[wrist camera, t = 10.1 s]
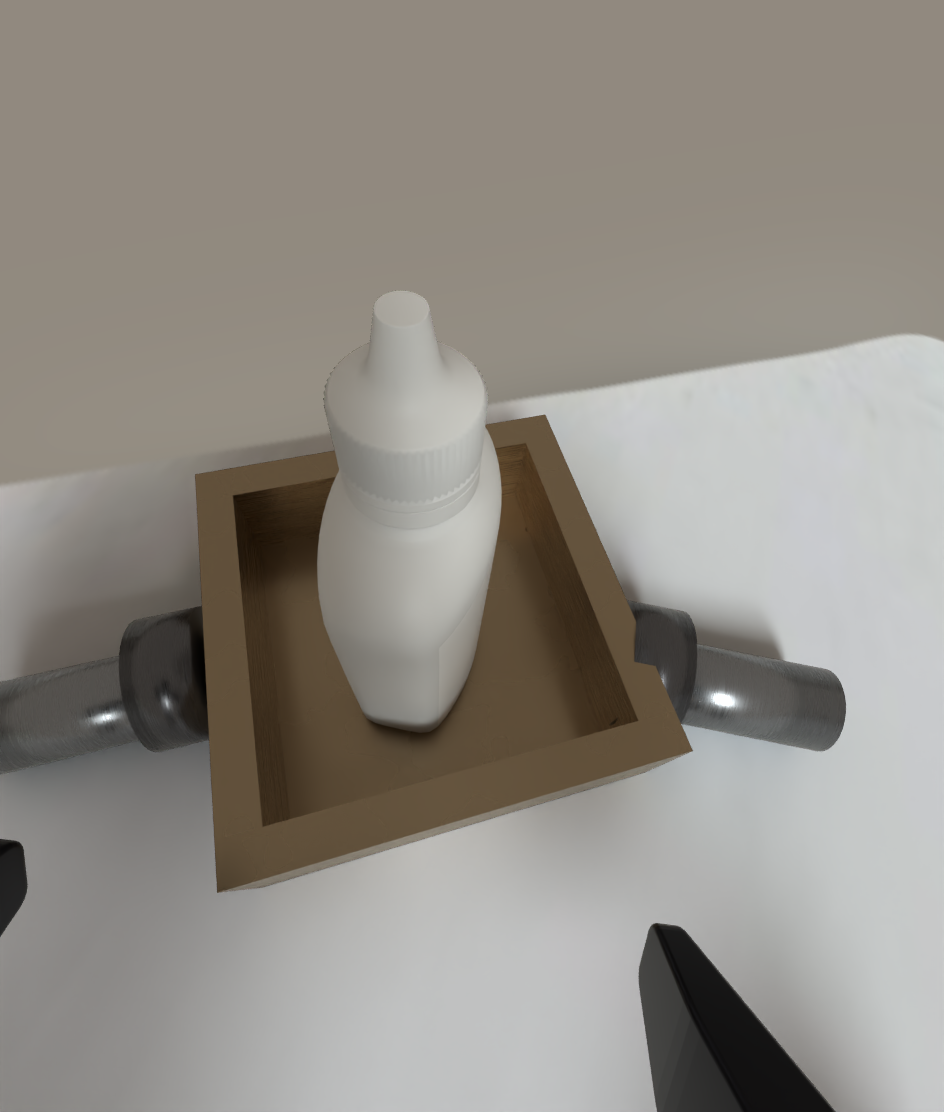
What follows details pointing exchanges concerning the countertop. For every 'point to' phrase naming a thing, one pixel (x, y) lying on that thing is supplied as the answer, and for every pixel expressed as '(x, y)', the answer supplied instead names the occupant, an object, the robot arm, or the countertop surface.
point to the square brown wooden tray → (479, 712)
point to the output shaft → (738, 685)
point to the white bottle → (407, 517)
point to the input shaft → (112, 697)
